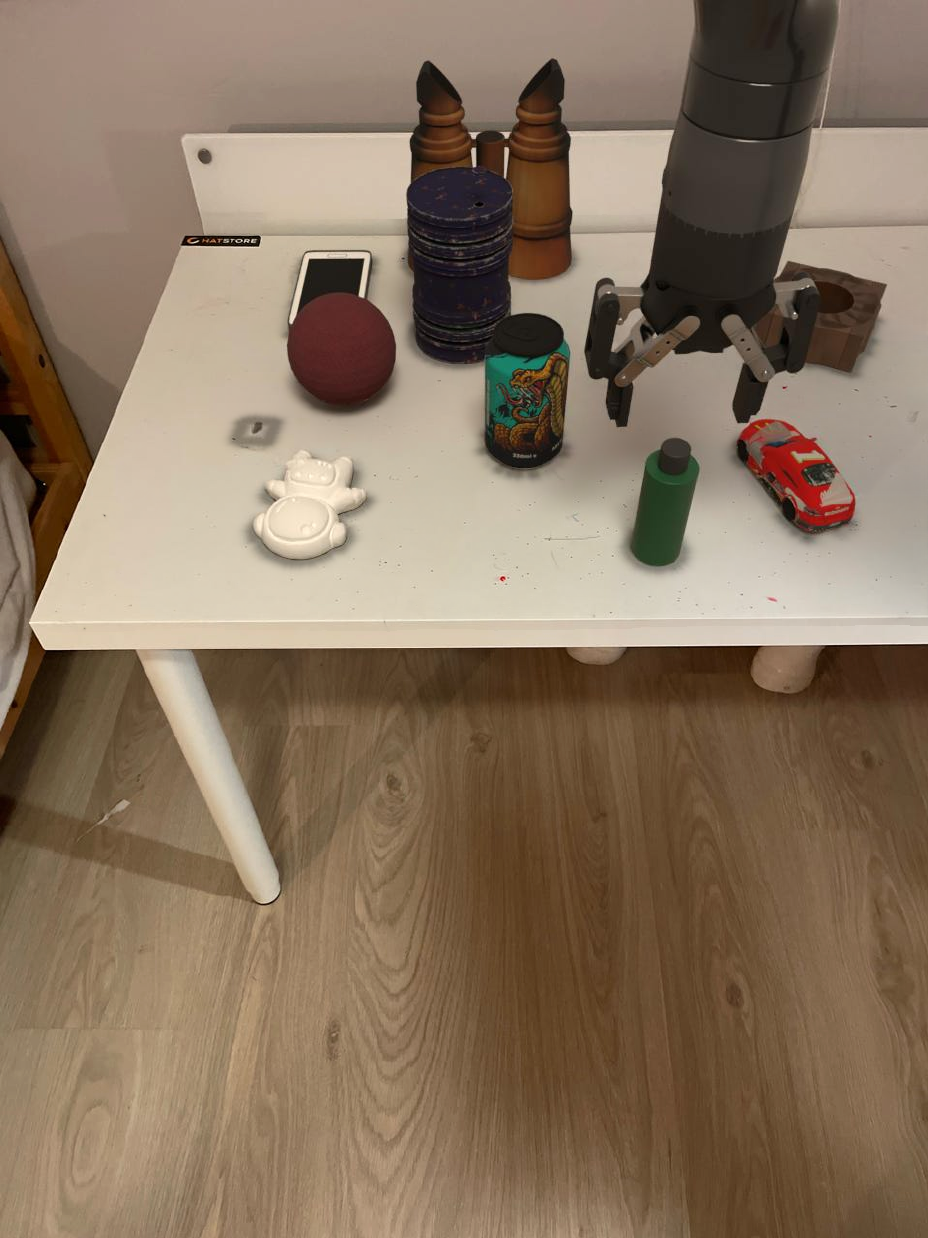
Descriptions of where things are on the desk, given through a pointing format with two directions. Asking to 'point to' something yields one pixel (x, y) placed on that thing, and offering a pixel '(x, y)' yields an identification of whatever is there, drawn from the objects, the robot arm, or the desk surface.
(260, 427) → the dark square tile
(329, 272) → the cell phone
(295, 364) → the decorative ball
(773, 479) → the race car
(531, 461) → the beverage can
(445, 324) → the dark blue cylinder
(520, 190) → the binoculars
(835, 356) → the ashtray
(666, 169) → the robot arm
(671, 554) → the bottle
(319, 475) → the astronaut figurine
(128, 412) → the desk surface
